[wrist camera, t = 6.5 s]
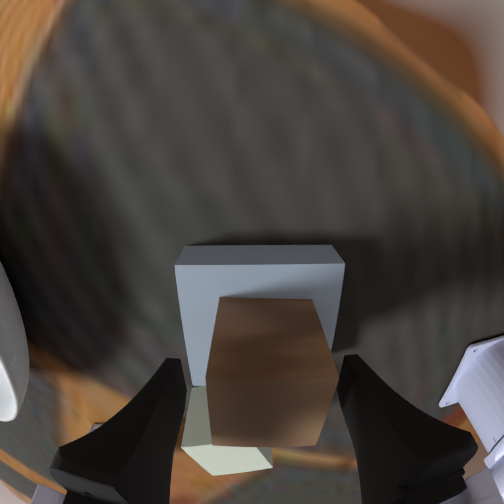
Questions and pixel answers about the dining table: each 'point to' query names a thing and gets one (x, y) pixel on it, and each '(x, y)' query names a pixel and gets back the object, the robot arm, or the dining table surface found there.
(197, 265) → the base block
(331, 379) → the walnut block
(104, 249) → the dining table surface
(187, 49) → the dining table surface
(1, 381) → the serving bowl
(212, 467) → the sage block
